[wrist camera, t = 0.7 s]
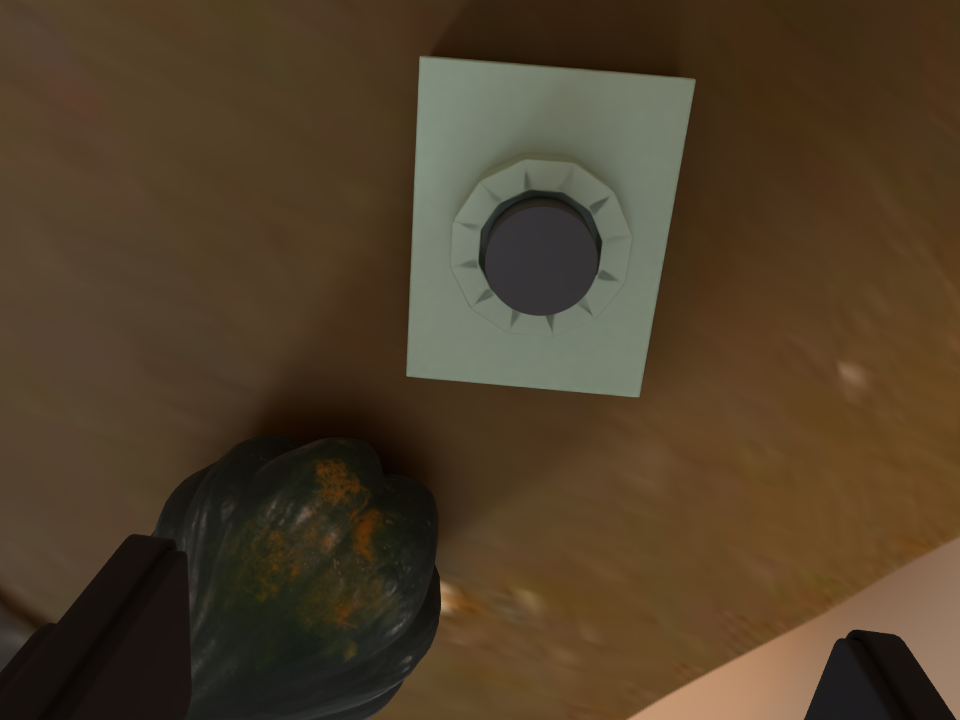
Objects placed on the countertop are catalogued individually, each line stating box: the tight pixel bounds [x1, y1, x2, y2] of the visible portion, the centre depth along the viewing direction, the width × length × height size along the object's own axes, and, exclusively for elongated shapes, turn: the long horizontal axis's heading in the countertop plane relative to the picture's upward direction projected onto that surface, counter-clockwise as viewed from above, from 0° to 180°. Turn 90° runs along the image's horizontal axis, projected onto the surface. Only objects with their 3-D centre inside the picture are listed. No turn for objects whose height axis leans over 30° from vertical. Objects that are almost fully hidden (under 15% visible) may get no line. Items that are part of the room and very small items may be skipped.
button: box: [485, 196, 598, 316], centre depth 29 cm, size 4×4×2 cm
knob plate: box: [406, 56, 696, 397], centre depth 32 cm, size 14×11×5 cm
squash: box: [151, 435, 441, 720], centre depth 36 cm, size 14×15×15 cm
